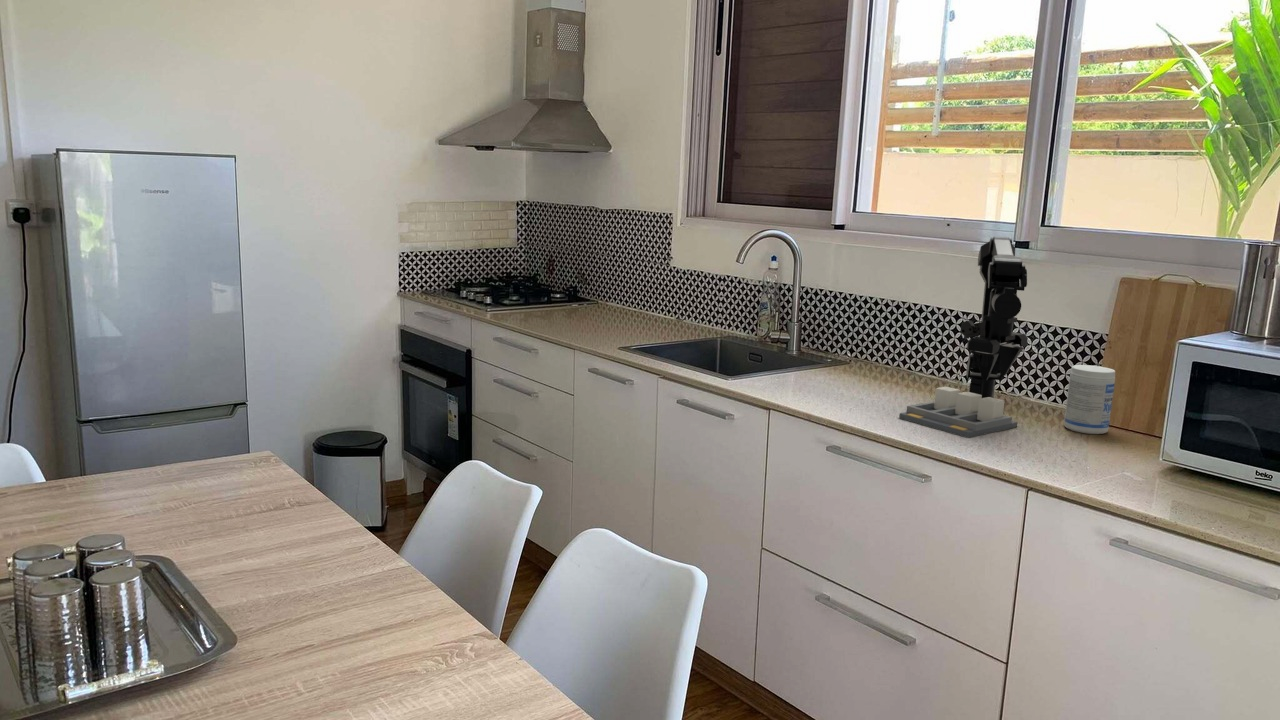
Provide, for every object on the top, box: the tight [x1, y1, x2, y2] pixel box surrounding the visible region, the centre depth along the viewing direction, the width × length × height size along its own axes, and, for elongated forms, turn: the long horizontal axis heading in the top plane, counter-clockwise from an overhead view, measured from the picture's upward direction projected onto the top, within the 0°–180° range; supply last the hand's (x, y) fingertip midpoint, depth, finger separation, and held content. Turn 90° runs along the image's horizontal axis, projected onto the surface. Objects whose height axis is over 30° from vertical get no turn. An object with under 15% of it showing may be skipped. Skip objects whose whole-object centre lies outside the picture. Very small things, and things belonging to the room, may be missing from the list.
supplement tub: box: [1063, 364, 1116, 435], centre depth 221 cm, size 10×10×15 cm
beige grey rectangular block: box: [934, 386, 961, 409], centre depth 230 cm, size 4×4×5 cm
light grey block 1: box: [955, 391, 982, 415], centre depth 225 cm, size 4×4×5 cm
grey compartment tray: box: [898, 400, 1018, 439], centre depth 224 cm, size 19×19×3 cm
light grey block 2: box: [977, 397, 1005, 421], centre depth 220 cm, size 4×4×5 cm
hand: (993, 377), depth 224 cm, fingers open, 9 cm apart
